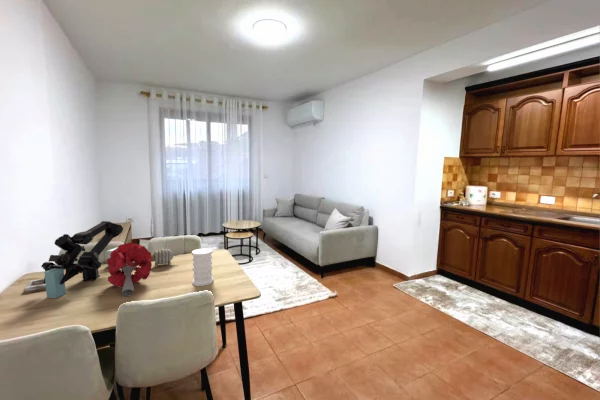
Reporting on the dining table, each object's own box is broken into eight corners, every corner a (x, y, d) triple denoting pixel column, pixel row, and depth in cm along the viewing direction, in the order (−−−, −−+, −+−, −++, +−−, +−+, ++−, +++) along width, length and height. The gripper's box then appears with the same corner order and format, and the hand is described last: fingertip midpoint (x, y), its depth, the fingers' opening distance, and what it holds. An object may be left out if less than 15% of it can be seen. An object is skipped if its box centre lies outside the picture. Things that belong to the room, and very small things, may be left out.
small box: (114, 267, 177) (113, 251, 176) (107, 266, 178) (106, 250, 177) (124, 263, 185) (123, 247, 184) (117, 262, 186) (116, 247, 185)
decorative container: (218, 280, 160) (217, 249, 158) (203, 287, 150) (202, 255, 148) (202, 276, 165) (202, 247, 163) (187, 283, 155) (186, 252, 153)
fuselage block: (56, 292, 141) (54, 268, 139) (65, 293, 141) (63, 268, 139) (46, 297, 136) (44, 272, 134) (56, 298, 136) (53, 272, 134)
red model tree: (155, 300, 149) (153, 258, 170) (150, 271, 136) (148, 230, 156) (107, 311, 140) (111, 266, 161) (96, 282, 126) (102, 236, 147)
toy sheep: (148, 265, 182) (147, 248, 181) (175, 260, 192) (175, 244, 191) (151, 270, 174) (150, 252, 172) (179, 264, 184) (179, 248, 182)
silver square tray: (58, 280, 156) (58, 276, 155) (54, 288, 146) (54, 283, 146) (29, 285, 149) (28, 280, 149) (23, 293, 139) (22, 288, 139)
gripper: (43, 246, 140) (21, 276, 131) (77, 248, 139) (57, 278, 129) (59, 256, 149) (40, 285, 139) (91, 258, 147) (74, 287, 138)
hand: (52, 283), depth 136 cm, fingers open, 8 cm apart
